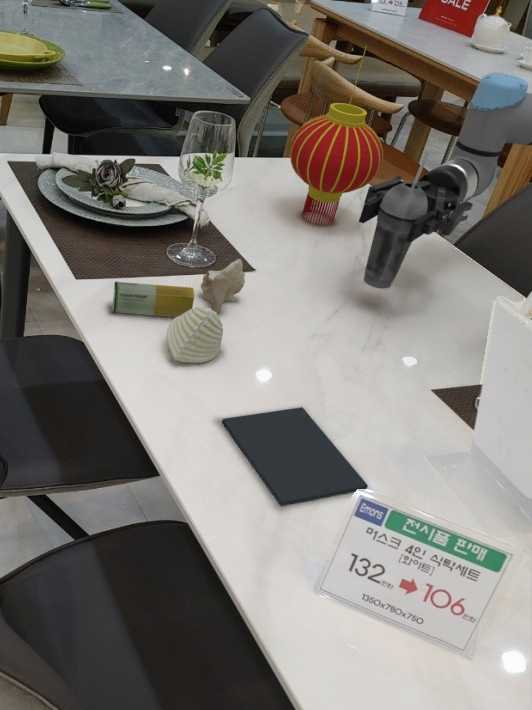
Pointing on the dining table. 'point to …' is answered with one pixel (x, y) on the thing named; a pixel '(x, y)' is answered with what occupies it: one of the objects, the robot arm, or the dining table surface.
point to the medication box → (152, 299)
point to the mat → (293, 455)
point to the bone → (223, 284)
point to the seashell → (195, 335)
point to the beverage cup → (394, 231)
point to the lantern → (335, 156)
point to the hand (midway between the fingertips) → (387, 223)
